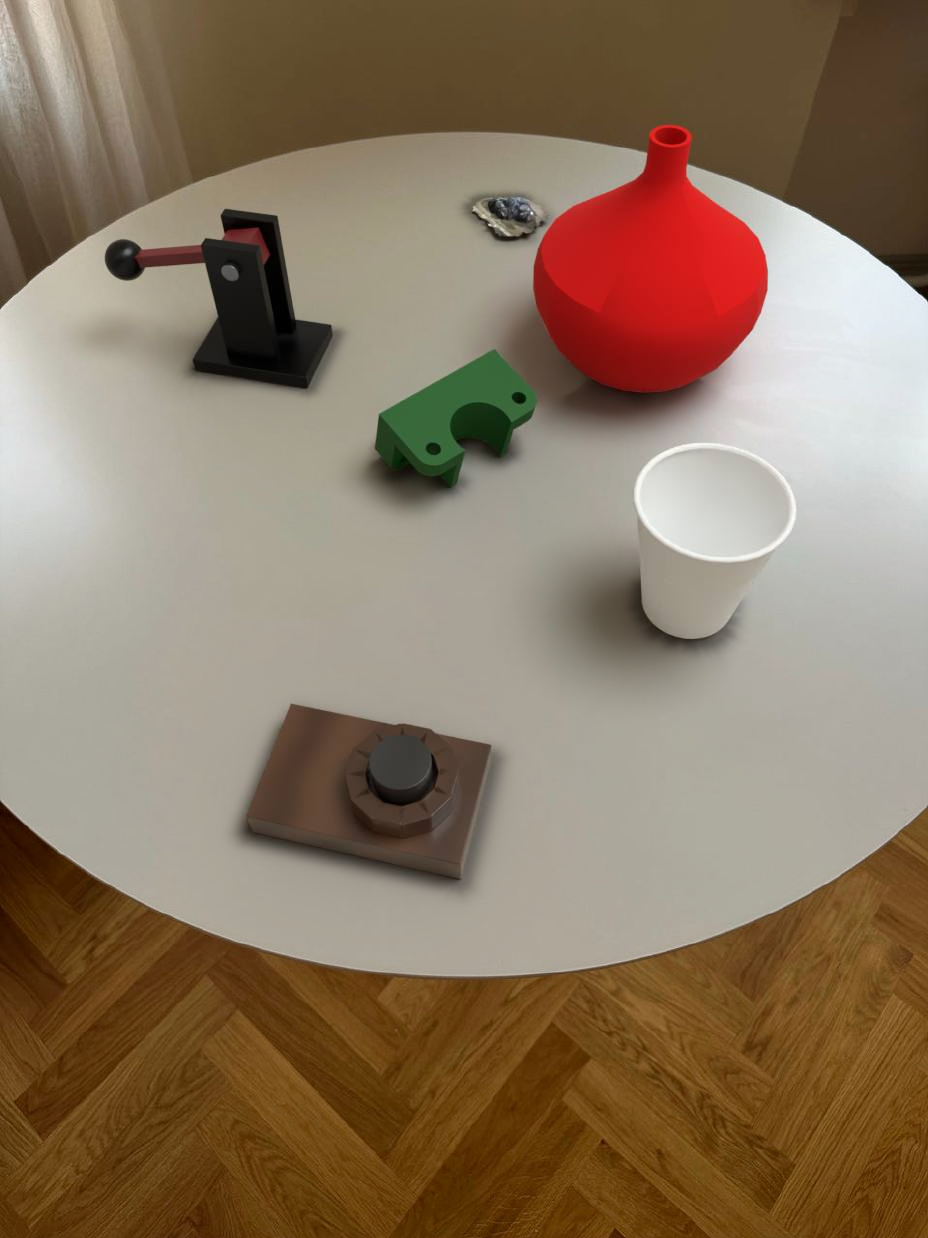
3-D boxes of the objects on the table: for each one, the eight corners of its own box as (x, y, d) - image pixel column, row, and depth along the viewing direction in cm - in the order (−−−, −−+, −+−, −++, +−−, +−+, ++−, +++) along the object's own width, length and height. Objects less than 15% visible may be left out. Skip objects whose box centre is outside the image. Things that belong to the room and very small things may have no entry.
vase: (758, 431, 82) (822, 213, 67) (527, 425, 83) (538, 208, 68) (735, 288, 93) (785, 72, 78) (531, 284, 94) (541, 69, 79)
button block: (252, 832, 63) (240, 802, 59) (295, 720, 67) (286, 687, 64) (461, 879, 61) (460, 852, 58) (491, 761, 65) (492, 729, 62)
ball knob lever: (110, 289, 85) (90, 255, 83) (126, 266, 87) (107, 232, 85) (260, 279, 81) (244, 242, 78) (274, 255, 82) (259, 218, 80)
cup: (785, 603, 72) (828, 495, 64) (701, 691, 68) (735, 589, 59) (671, 530, 76) (696, 419, 68) (585, 608, 72) (600, 501, 63)
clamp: (435, 522, 83) (410, 487, 74) (390, 469, 84) (360, 429, 76) (550, 424, 83) (538, 378, 74) (502, 373, 84) (485, 322, 75)
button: (363, 796, 60) (361, 782, 59) (381, 743, 62) (379, 728, 61) (423, 809, 60) (422, 795, 58) (439, 755, 62) (438, 740, 60)
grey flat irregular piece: (518, 249, 97) (519, 231, 96) (452, 219, 100) (452, 201, 99) (561, 216, 100) (562, 198, 99) (495, 188, 103) (495, 170, 102)
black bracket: (194, 370, 88) (160, 247, 78) (225, 319, 92) (195, 196, 82) (307, 388, 86) (286, 265, 77) (333, 335, 90) (316, 212, 81)
